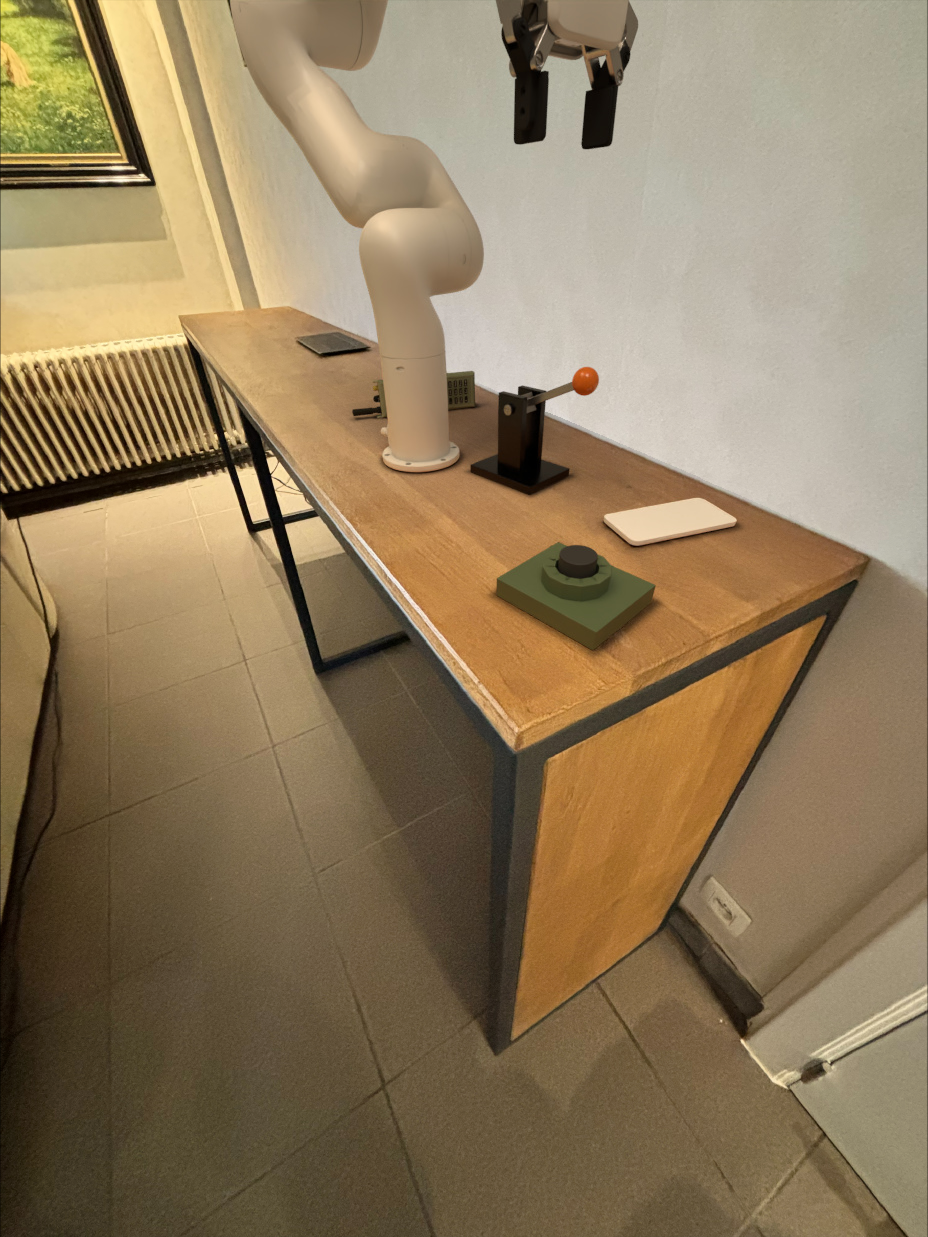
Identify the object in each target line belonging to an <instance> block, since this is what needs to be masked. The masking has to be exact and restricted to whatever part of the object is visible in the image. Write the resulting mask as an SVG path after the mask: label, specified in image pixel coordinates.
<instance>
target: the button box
mask: <svg viewBox="0 0 928 1237" xmlns="http://www.w3.org/2000/svg"><path fill="white" fill-rule="evenodd" d="M567 546H568V545H567V544H564V543H562V542H560V541H557V542H555V543H554V544H552V545H551V546H549V547H547V548H545V549H544V550H542V551H540V552H539V553H537V554H534V555H533V556H532V557H530V558H529V559H527V560H525V561H524V562H522V563H520V564H518V565H516V566H515V567H513V568H512V569H509V570H508V571H506V572H505V573H503V574H501V575H500V576H497V577H496V592H495V594H496V595H495V596H497V597H499V598H500V599H501V600H503V601H505V602H507V603H508V604H511V605H512V606H514V607H516V608H518V609H519V610H521V611H523V612H524V613H526V614H528V615H530V616H532V617H533V618H536V620H539V621H541V622H542V623H544V624H545V625H547V626H549V627H551V628H553V629H555V630H556V631H558V632H559V633H562V634H563V635H565V636H566V637H568V638H570V639H572V640H573V641H575V642H577V643H579V644H581V645H583V646H584V647H586V648H588V649H590V650H591V651H594V650H595V649H597V648H598V647H599V646H600V645H602V644H603V643H604V642H605V641H607V640H608V639H609V638H610V637H612V635H614V634H615V633H616V632H617V631H619V630H620V629H622V627H624V626H625V625H627V623H629V622H630V621H631V620H632V619H634V617H636V616H637V615H638V614H639V613H641V612H642V611H643V610H644V609H646V608H647V607H648V606H649V605H650V604H652V603H653V602H652V601H653V598H654V594H655V591H656V584H654V583H652V582H650V581H648V580H646V579H643V578H641V577H639V576H636V575H634V574H632V573H629V572H627V571H625V570H623V569H620V568H619V567H616V566H614V565H612V564H611V563H610V562H609V561H608V560H607V559H606V558H605V557H604V556H603V555H601V554H598V560H597V566H596V572H595V574H594V575H593V576H592V577H589V578H583V579H577V578H570V577H567V576H565V575H563V574H561V573H560V572H559V570H558V563H559V554H560V551H561V550H562V549H563V548H564V547H567Z"/></svg>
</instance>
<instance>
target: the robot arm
mask: <svg viewBox="0 0 928 1237" xmlns="http://www.w3.org/2000/svg"><path fill="white" fill-rule="evenodd" d="M388 3H389V0H229V4H230V11H231V17H232V23H233V27H234V32H235V34H236V38H237V42H238V45H239V49H240V52H241V55H242V57H243V60H244V63H245V65H246V68H247V70H248V72H249V74H250V77H251V79H252V81H253V82H254V85H255V87H256V88H257V90H258V92H259V93H260V95H261V97H262V98H263V100H264V101H265V103H266V104H267V106H268V107H269V108H270V110H271V111H272V113H273V114H274V116H276V118H277V119H278V120H279V121H280V123H281V124H282V125H283V127H284V128H285V129H286V130H287V132H288V133H289V134H290V136H291V137H292V138H293V140H294V142H295V143H296V144H297V146H298V147H299V149H300V150H301V153H302V154H303V156H304V158H305V159H306V161H307V163H308V164H309V166H310V167H311V169H312V171H313V172H314V174H315V176H316V178H317V179H318V181H319V182H320V184H321V186H322V187H323V189H324V191H325V192H326V194H327V195H328V197H329V199H330V200H331V202H332V204H333V205H334V207H335V209H336V210H337V211H338V214H340V216H341V217H342V218H343V219H344V221H346V222H347V223H348V224H349V225H350V226H352V227H355V228H358V229H362V230H361V232H360V236H359V241H358V242H359V243H358V253H359V254H358V255H359V261H360V265H361V270H362V275H363V278H364V281H365V284H366V285H365V286H366V289H367V292H368V295H369V299H370V302H371V303H370V304H371V308H372V312H373V317H374V322H375V330H376V337H377V343H378V344H377V346H378V352H379V359H380V360H379V361H380V367H381V375H382V380H383V385H384V393H385V402H386V410H387V417H386V418H387V425H386V426H383V427H381V429H380V434H381V435H382V436H384V437H386V438H387V442H388V446H387V447H386V448H384V450H382V454H381V456H382V462H383V464H384V465H385V466H387V467H388V468H390V469H393V470H396V471H399V472H400V471H401V472H406V473H426V472H427V473H428V472H433V471H438V470H443V469H445V468H448V467H450V466H452V465H454V464H455V463H456V462H458V461H459V459H460V456H461V454H460V453H461V452H460V447H459V446H458V445H457V444H456V443H454V442H452V441H450V419H449V410H448V395H447V373H448V372H447V358H446V357H447V356H446V354H447V352H446V340H445V332H444V327H443V324H442V322H441V319H440V317H439V315H438V313H437V310H436V308H435V307H434V305H433V302H432V300H431V297H434V296H441V295H448V294H453V293H459V292H461V291H464V290H467V289H469V288H470V287H472V286H473V285H474V284H475V283H476V282H477V281H478V279H479V277H480V275H481V273H482V270H483V266H484V260H485V250H484V249H485V248H484V241H483V238H482V237H483V236H482V234H481V231H480V228H479V225H478V223H477V221H476V219H475V217H474V215H473V213H472V212H471V209H470V208H469V206H468V205H467V203H466V201H465V200H464V198H463V196H462V195H461V193H460V191H459V190H458V188H457V186H456V185H455V183H454V181H453V180H452V178H451V176H450V174H449V173H448V171H447V170H446V168H445V166H444V164H443V163H442V162H441V160H440V158H439V157H438V155H437V154H436V152H434V150H432V148H430V147H429V145H427V144H426V143H424V142H423V141H422V140H420V139H417V138H415V137H412V136H407V135H396V134H388V133H387V134H386V133H382V132H378V131H376V130H373V129H371V128H370V127H369V126H368V124H366V123H365V121H364V120H363V118H362V117H361V116H360V113H359V112H358V111H357V109H356V108H355V106H354V104H353V102H352V100H351V98H350V97H349V96H348V94H347V92H346V91H345V90H344V89H343V88H342V86H340V85H339V83H337V81H335V80H334V79H333V78H332V77H331V76H330V75H329V74H328V73H327V72H325V71H324V70H323V69H322V68H328V69H333V70H339V71H346V72H347V71H348V72H356V71H358V70H362V69H364V68H365V67H366V66H367V65H368V64H370V62H371V60H372V59H373V57H374V55H375V52H376V50H377V47H378V43H379V40H380V37H381V32H382V28H383V24H384V19H385V16H386V11H387V8H388ZM495 4H496V8H497V13H498V17H499V21H500V24H501V26H502V27H501V31H500V32H501V33H500V34H501V40H502V44H503V46H504V49H505V51H506V52H507V56H508V58H509V62H508V71H509V74H510V76H511V77H512V78H514V99H513V100H514V102H513V106H514V107H513V143H514V144H515V145H527V144H533V143H539V142H543V141H544V140H545V138H546V136H547V125H548V124H547V122H548V105H549V102H548V101H549V85H550V84H549V82H550V77H549V75H550V71H548V70H543V68H544V66H545V65H546V62H547V59H548V58H549V57H552V58H557V59H562V60H566V61H577V60H580V59H581V58H583V60H584V65H585V68H586V72H587V77H588V80H589V81H588V82H589V84H590V88H591V89H590V90H586V91H585V97H584V106H583V119H582V132H581V142H580V145H581V148H582V149H583V150H594V149H600V148H607V147H610V146H612V143H613V140H614V139H613V138H614V129H615V122H616V113H617V103H618V95H619V94H618V93H619V87H621V86H622V84H623V82H624V77H625V76H624V74H625V70H626V68H627V66H628V65H629V63H630V59H631V51H632V48H633V45H634V42H635V38H636V36H637V32H638V29H639V20H638V17H637V15H636V13H635V10H634V9H633V6H632V4H631V2H630V0H495ZM602 57H605V59H604V61H603V63H602V65H601V62H600V58H602ZM321 67H322V68H321Z"/></svg>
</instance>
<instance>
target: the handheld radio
mask: <svg viewBox="0 0 928 1237" xmlns="http://www.w3.org/2000/svg"><path fill="white" fill-rule="evenodd" d="M446 373H447V395H448V411H451V410H459V409H468V408H475V407H476V383H475V382H476V381H475V380H476V378H475V377H476V376H475V371H473V370H467V371H466V370H465V371H455V372H446ZM371 382H372V383H374V384H375V383H376V384H377V385H373V386H372V390H373V392H377V391H378V394H377V395H373V398H372V399H373V402H374V403H379V406H376V407H363V408H353V409H352V411H351V413H352V415H353V417H361V416H369V415H374V414H377V415H376V418H377V419H382V418H387V410H386V402H385V393H384V385H383V379H376V380H375V379H374V380H371Z"/></svg>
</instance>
